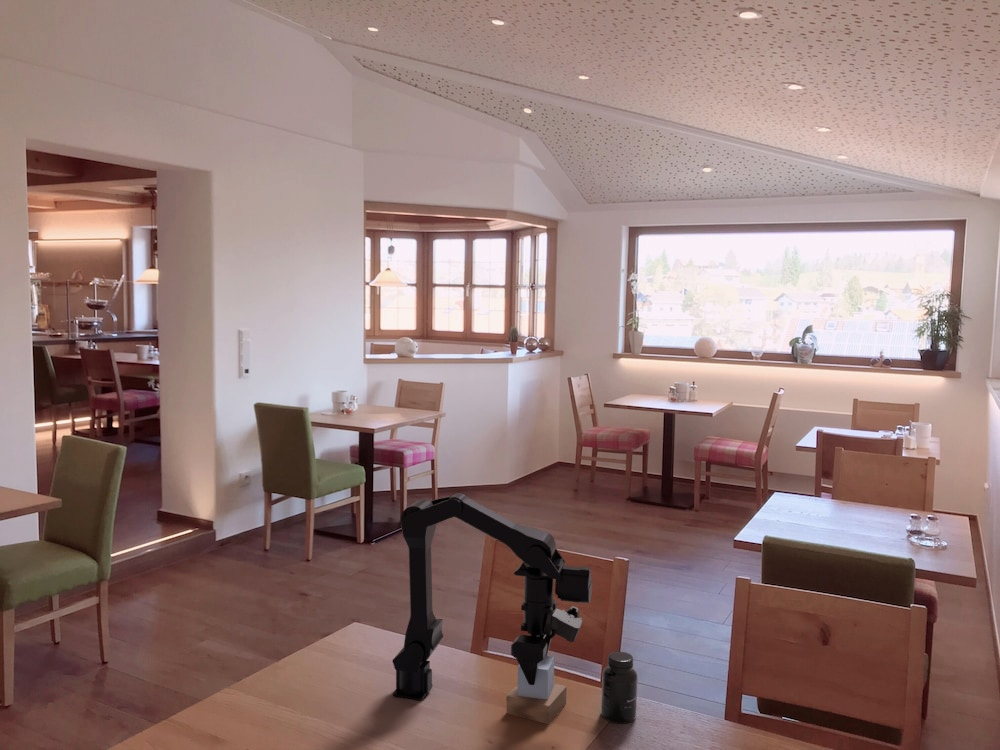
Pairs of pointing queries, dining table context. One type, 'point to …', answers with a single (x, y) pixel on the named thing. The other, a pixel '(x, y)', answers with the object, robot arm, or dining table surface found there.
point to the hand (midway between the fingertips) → (537, 674)
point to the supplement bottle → (619, 688)
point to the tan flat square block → (537, 704)
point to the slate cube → (538, 680)
